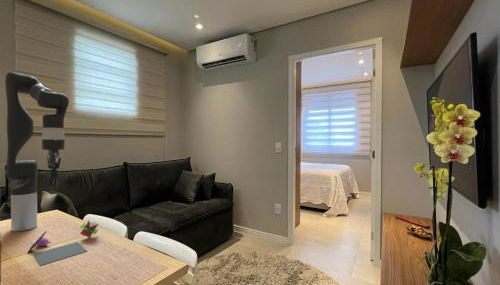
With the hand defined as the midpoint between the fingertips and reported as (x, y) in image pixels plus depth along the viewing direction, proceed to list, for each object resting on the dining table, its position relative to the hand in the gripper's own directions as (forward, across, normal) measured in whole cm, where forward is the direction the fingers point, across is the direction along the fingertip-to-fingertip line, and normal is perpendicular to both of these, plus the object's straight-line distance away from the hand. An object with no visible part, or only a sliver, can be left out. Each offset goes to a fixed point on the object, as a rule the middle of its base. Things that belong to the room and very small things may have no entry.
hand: (53, 178), depth 102 cm
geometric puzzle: (+27, +8, +11) cm, 30 cm away
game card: (+25, +8, -6) cm, 27 cm away
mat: (+27, +16, -1) cm, 31 cm away
